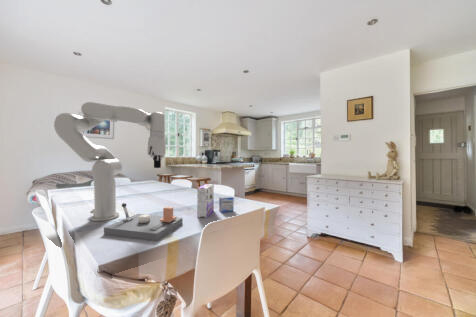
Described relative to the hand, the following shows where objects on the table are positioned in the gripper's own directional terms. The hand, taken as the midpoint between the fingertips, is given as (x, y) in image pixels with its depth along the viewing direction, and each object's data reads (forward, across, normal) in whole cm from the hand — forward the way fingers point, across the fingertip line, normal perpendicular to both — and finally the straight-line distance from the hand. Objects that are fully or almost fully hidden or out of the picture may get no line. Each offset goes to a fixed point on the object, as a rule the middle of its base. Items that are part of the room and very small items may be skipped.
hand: (157, 167), depth 108 cm
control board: (+27, +18, +7) cm, 33 cm away
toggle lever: (+23, +18, -3) cm, 29 cm away
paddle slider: (+23, +14, +16) cm, 32 cm away
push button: (+24, +18, +6) cm, 30 cm away
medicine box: (+27, -18, +35) cm, 48 cm away
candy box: (+27, -10, +25) cm, 38 cm away
